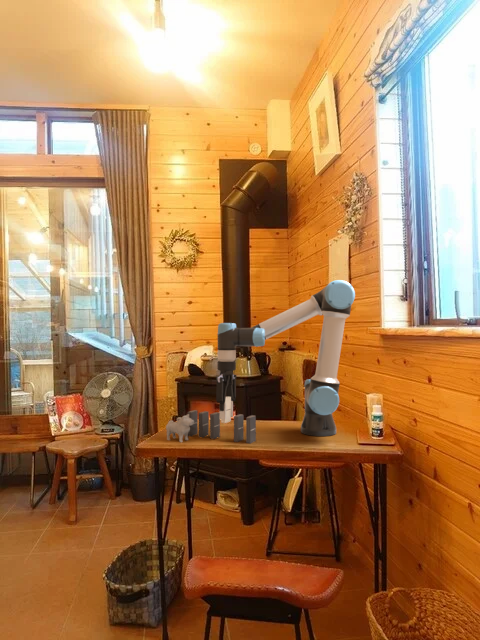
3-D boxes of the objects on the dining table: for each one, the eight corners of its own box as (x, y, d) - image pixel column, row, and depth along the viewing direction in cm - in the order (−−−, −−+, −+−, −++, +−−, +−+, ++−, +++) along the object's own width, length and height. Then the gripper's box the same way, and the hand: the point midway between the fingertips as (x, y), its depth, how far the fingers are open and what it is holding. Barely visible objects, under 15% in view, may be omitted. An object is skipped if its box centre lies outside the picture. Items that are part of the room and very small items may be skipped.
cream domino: (231, 421, 186) (231, 396, 186) (225, 423, 181) (225, 398, 181) (226, 420, 186) (227, 396, 187) (221, 422, 182) (221, 397, 182)
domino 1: (197, 434, 193) (197, 410, 193) (191, 436, 188) (191, 412, 189) (193, 433, 194) (193, 410, 194) (187, 435, 189) (187, 412, 190)
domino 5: (255, 440, 180) (255, 415, 181) (250, 443, 176) (250, 417, 176) (251, 440, 181) (251, 415, 182) (246, 443, 177) (246, 417, 177)
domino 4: (243, 439, 183) (243, 414, 183) (238, 442, 178) (238, 416, 179) (239, 438, 184) (239, 414, 184) (233, 441, 179) (233, 416, 180)
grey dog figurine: (188, 443, 176) (188, 416, 176) (164, 439, 183) (164, 413, 183) (196, 441, 180) (196, 414, 181) (172, 437, 187) (172, 411, 188)
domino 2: (208, 435, 190) (208, 411, 191) (202, 437, 186) (202, 413, 186) (204, 434, 191) (204, 411, 192) (198, 437, 187) (198, 413, 187)
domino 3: (220, 436, 188) (219, 412, 188) (214, 439, 183) (213, 414, 184) (216, 436, 189) (216, 412, 189) (209, 438, 184) (209, 414, 185)
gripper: (228, 359, 194) (228, 413, 194) (207, 361, 178) (206, 420, 178) (244, 359, 191) (244, 415, 190) (224, 362, 175) (223, 422, 174)
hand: (226, 417), depth 184 cm, fingers closed on cream domino, 5 cm apart
